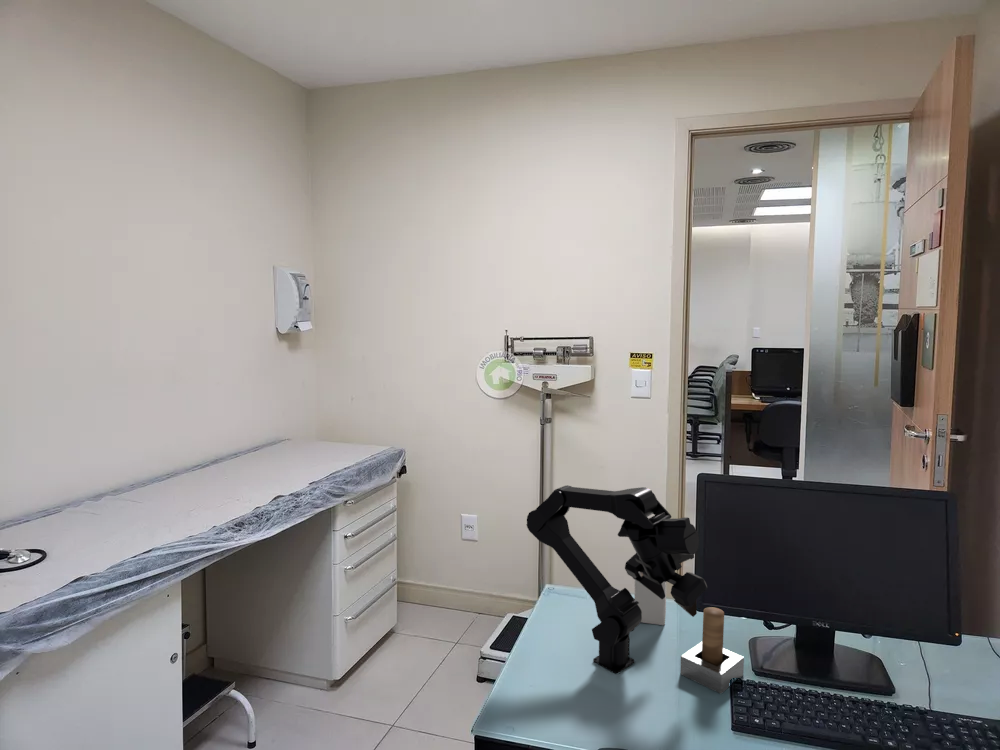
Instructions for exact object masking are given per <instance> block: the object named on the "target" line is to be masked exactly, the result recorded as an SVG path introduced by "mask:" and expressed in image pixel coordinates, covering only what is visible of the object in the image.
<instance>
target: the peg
mask: <svg viewBox="0 0 1000 750" xmlns="http://www.w3.org/2000/svg"><path fill="white" fill-rule="evenodd" d="M724 626H725V611H723V610H722V609H720V608H718V607H712V606H711V607H710V606H709V607H705V608H704V609H703V616H702V641H701V642H702V660H704V661H706V662H708V663H710V664H713V665H715V666H717V667H718V666H719V665H721V664H722V657H723V648H724V633H725V632H724V629H725V627H724Z"/></svg>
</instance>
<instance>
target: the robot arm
mask: <svg viewBox="0 0 1000 750" xmlns="http://www.w3.org/2000/svg"><path fill="white" fill-rule="evenodd" d="M570 508H573V509H582V510H589V511H598V512H605V513H608V514H609V513H610V514H612V515H613V516H615V517H616V518H617V519H621V520H622V521H623V523H622V524H621V527H620V529H619V531H618V533H617V536H618V537H619V538H620V537H622V538H628V539H629V541H630V543H631V545H632V547H633V549H634V551H635V553H634V555H632V556H631V557H630V558H629V559H628V560H627V561H626V562H625V565H624V570H625V571H626V574H627V575H628V576H630V577H631V578H632V579H633V580H634V581H635V580H636V581H638V582H639V583H640V584H642V585H643V586H644V587H646V588H647V589H648V590H650V591H651V592H653V593H654V594H655V595H657V596H658V597H659V598H661V599H664V598H665V593H664V589H663V587H662V583H663V582H666V583H669V584H671V585H672V586H671V589H670V594H671V596H672V598H673V601H674V602H675V603H676V605H678V606H679V607H681V608H682V609H683V610H684V611H685V612H686V613H687V614H688V615H690V617H691V616H692V618H694V617H695V616H696V615H697V614H698V611H697V610H698V609H697V599H698V598H699V597H700V596H701V595H702V594H703V593H704V592H706V591H707V589H708V585H707V582H706V581H705V579H704V578H703V577H701V576H699V575H697V574H695V573H693V572H688V571H686V572H685V573H684V574H683V575H682V574H680V573H678V572H676V571H679V570H680V569H681V568H682V565H681V563H684V562H686V561H689V560H693V559H694V558H695V554H696V553H697V552H698V551H699V545H700V538H699V537H700V536H699V532H698V531H697V529H696V527H695V526H694V525H693V524H692V523H691V521H690V518H689V517H686V516H685V517H680V518H679V517H678V518H672V515H671V514H670V512H668V510H667V509H666V508H665V506H664V505H663V504H661V503H660V501H659V499H657V497H656V495H655V494H654V492H653V491H652V489H650V488H648V487H633V488H627V489H621V490H606V489H597V488H585V487H575V486H572V485H563V486H561V487H557V488H555V489H554V490H553V491H552V492H551V494H550V495H549V496H548V497H547V498H545V500H544V501H543V502H542V503H541V504H539V505H538V506H537V507H536V508H535V509H534V510H531V511H530V512H528V515H527V516H526V528H527V529H528V531H529V532H530V534H531V535H533V536H534V537H535V538H536V539H537V540H538V541H539V543H543V544H544V545H545V546H548V547H550V548H551V549H553V550H554V551H555V553H556V555H558V557H559V558H560V559H561V561H563V563H564V564H565V565H566V567H567V568H568V570H569V571H570V572H571V573H572V575H573V576H574V577H575V578H576V580H577V581H578V583H579V584H580V585H581V586H582V587H583V588H584V589H583V590H585V592H586V593H587V594H588V595H589V597H590V598H591V599H592V600H593V602H594V605H595V610H596V614H597V615H596V616H597V618H598V620H599V622H600V623H598V624H597V625H595V626H594V627H593V628H591V632H592V636H593V639H594V640H596V641H598V656H597V655H596V657H594V658H593V659H592V662H593V663H595V664H596V665H598V666H601V667H603V668H604V669H606V670H608V671H610V672H611V673H614V674H616V675H617V674H620V673H621V672H623V671H624V670H626V669H627V668H629V667H630V666H631V665H634V664H635V662H636V661H635V659H634V658H633V657H630V633H631V632H634V631H635V629H636V628H637V627H638V626H639V625H640V624H641V623H642V622H641V619H642V615H641V614H642V611H641V609H640V607H639V606H638V605H637V604H639V602H638V601H636V600H635V599H634V598H635V597H634V596H632V594H631V592H630V590H628V589H627V588H626V587H624V588H622V589H621V590H620V589H617V588H616V587H614V586H612V584H611V583H610V582H609V580H607V578H606V577H605V576H604V575H603V573H602V572H601V571H600V570H599V569H598V567H597V566H596V565H595V563H594V562H593V561H592V560H591V558H590V557H589V556H588V555H587V553H586V552H585V551H584V550H583V549H582V547H581V546H580V545H579V543H578V542H577V541H576V540H575V538H574V537H573V536H572V535H571V533H570V526H569V522H568V519H567V518H566V515H567V513H568V512H569V511H570ZM651 515H653V516H651ZM649 516H651V517H649Z"/></svg>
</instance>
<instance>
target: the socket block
mask: <svg viewBox="0 0 1000 750" xmlns="http://www.w3.org/2000/svg"><path fill="white" fill-rule="evenodd" d="M744 663H745V657H744V656H742V655H741V654H738V653H736V652H733V651H730V650H729V649H726V648H725V647H723V657H722V664H721V665H719V666H718V667H717V666H715V665H713V664H710V663H708V662H706V661H704V660H702V641H700V642H699V643H697V644H695V646H693V647H692V648H690V649H688V650H687V651H686V652H685V653H683V654H682V655H680V672H679V673H680V675H681V676H683V677H685V678H687V679H690V680H691V681H694V682H695V683H698V684H699V685H702V686H704V687H706V688H708V689H710V690H711V691H715V692H716V693H718V694H721V695H722V694H723V693H724V692H725V691H727V690H728V689H729V688H730V687H729V683H730V680H731V679H732V678H740V679H741V678H743V676H744V669H745V667H744V666H745V665H744ZM728 687H729V688H728Z"/></svg>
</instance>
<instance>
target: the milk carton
mask: <svg viewBox="0 0 1000 750" xmlns="http://www.w3.org/2000/svg"><path fill="white" fill-rule="evenodd" d="M662 587H663V589H664V593H665V598H664V599H661V598H659V597H658V596H657V595H655V594H654V593H653V592H651V591H650V590H648V589H647V588H646V587H644V586H643V585H642V584H640V583H639V582H638V581H636V580H635V579H634V597H633V598H634V599H635V600H636V601H638V602H639V604H637V605H638V606H639V607H640V609H641V611H642V614H641V615H642V619H641V623H644V624H651V625H658V626H659V625H660V626H665V625H666V624H665V623H666V613H667V581H666V582H663V583H662Z"/></svg>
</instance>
